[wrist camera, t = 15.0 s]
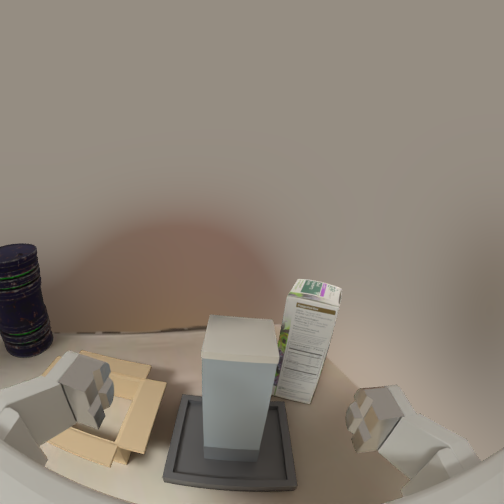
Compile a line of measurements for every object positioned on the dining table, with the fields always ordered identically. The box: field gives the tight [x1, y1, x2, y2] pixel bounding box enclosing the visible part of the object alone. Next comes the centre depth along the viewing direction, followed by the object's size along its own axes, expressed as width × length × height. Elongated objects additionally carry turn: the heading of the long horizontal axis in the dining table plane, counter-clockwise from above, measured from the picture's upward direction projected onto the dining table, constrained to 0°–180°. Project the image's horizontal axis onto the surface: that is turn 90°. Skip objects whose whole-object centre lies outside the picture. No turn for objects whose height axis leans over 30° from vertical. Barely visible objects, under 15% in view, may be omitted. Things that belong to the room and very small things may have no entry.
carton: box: [41, 350, 167, 468], centre depth 22 cm, size 15×15×4 cm
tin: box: [201, 315, 279, 462], centre depth 21 cm, size 5×5×14 cm
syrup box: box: [271, 279, 342, 404], centre depth 31 cm, size 6×6×14 cm
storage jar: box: [0, 244, 53, 358], centre depth 30 cm, size 10×10×15 cm
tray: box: [163, 394, 297, 491], centre depth 23 cm, size 12×12×1 cm
